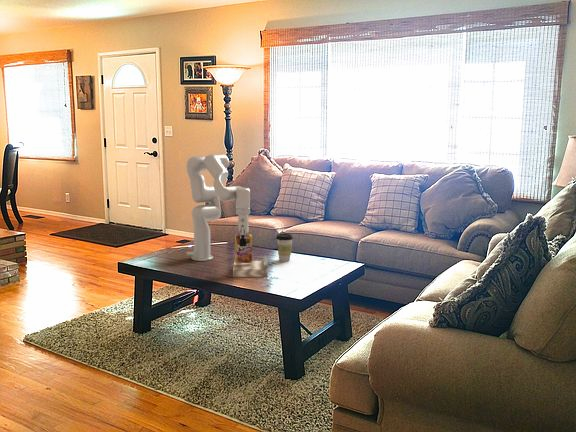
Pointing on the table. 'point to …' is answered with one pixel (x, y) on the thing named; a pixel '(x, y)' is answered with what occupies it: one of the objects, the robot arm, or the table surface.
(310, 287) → the table surface
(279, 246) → the coffee cup
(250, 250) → the candy box
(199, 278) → the table surface
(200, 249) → the robot arm
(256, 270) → the low shelf
